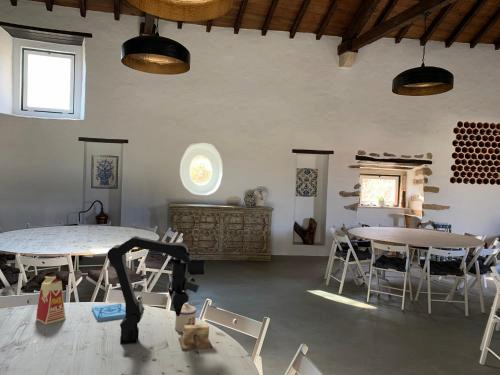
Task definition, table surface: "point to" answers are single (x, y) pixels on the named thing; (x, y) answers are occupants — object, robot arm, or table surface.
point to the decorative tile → (109, 312)
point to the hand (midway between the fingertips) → (176, 311)
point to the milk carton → (51, 301)
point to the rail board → (194, 344)
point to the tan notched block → (195, 333)
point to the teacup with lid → (185, 317)
